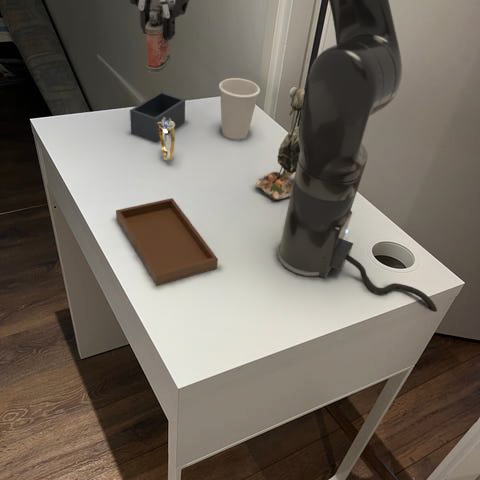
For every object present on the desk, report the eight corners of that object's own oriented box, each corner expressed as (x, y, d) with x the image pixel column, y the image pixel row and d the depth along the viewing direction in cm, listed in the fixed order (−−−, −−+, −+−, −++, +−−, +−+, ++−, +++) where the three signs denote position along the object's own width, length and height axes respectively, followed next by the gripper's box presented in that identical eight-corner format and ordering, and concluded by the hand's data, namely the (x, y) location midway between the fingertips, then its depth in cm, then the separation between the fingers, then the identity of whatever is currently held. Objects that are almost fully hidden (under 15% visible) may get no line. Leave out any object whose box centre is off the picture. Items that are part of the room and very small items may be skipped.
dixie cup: (236, 120, 113) (240, 74, 105) (261, 136, 109) (268, 90, 102) (207, 129, 108) (210, 82, 101) (233, 146, 105) (238, 99, 97)
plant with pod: (316, 190, 97) (343, 86, 82) (270, 205, 92) (290, 96, 77) (291, 169, 101) (312, 66, 86) (245, 182, 96) (259, 75, 81)
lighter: (160, 74, 94) (159, 14, 87) (143, 70, 94) (140, 11, 87) (172, 59, 100) (173, 2, 92) (156, 56, 100) (155, -2, 92)
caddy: (184, 122, 109) (185, 100, 106) (156, 143, 102) (155, 119, 99) (160, 114, 111) (160, 91, 107) (131, 133, 104) (129, 110, 100)
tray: (216, 268, 79) (217, 258, 77) (156, 285, 75) (156, 275, 73) (172, 207, 88) (172, 197, 87) (116, 220, 84) (115, 210, 83)
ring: (177, 167, 97) (178, 128, 91) (161, 168, 96) (160, 129, 90) (170, 149, 101) (171, 110, 95) (155, 150, 100) (154, 111, 94)
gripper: (105, -87, 80) (114, 31, 92) (181, -68, 76) (179, 51, 89) (133, -91, 85) (138, 21, 97) (205, -74, 81) (201, 40, 94)
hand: (158, 35), depth 93 cm, fingers closed on lighter, 4 cm apart
